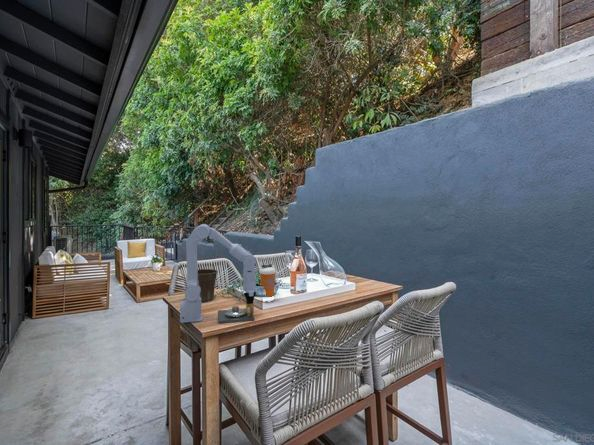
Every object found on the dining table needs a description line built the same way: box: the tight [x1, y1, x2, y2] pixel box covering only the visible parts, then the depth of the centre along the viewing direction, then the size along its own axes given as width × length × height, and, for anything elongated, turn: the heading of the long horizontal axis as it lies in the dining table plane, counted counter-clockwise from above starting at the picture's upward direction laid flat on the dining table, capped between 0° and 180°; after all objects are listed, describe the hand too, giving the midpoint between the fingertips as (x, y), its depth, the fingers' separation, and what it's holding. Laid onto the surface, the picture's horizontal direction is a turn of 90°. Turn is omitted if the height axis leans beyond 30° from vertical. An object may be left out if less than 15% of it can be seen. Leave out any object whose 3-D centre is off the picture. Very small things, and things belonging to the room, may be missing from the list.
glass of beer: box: [259, 263, 277, 297], centre depth 179 cm, size 9×9×20 cm
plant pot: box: [198, 268, 218, 303], centre depth 182 cm, size 16×16×16 cm
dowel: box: [247, 307, 250, 317], centre depth 149 cm, size 2×2×4 cm
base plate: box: [217, 307, 256, 325], centre depth 152 cm, size 16×16×1 cm
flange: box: [225, 302, 255, 317], centre depth 152 cm, size 14×10×4 cm
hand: (250, 307), depth 154 cm, fingers closed, pressing on flange
